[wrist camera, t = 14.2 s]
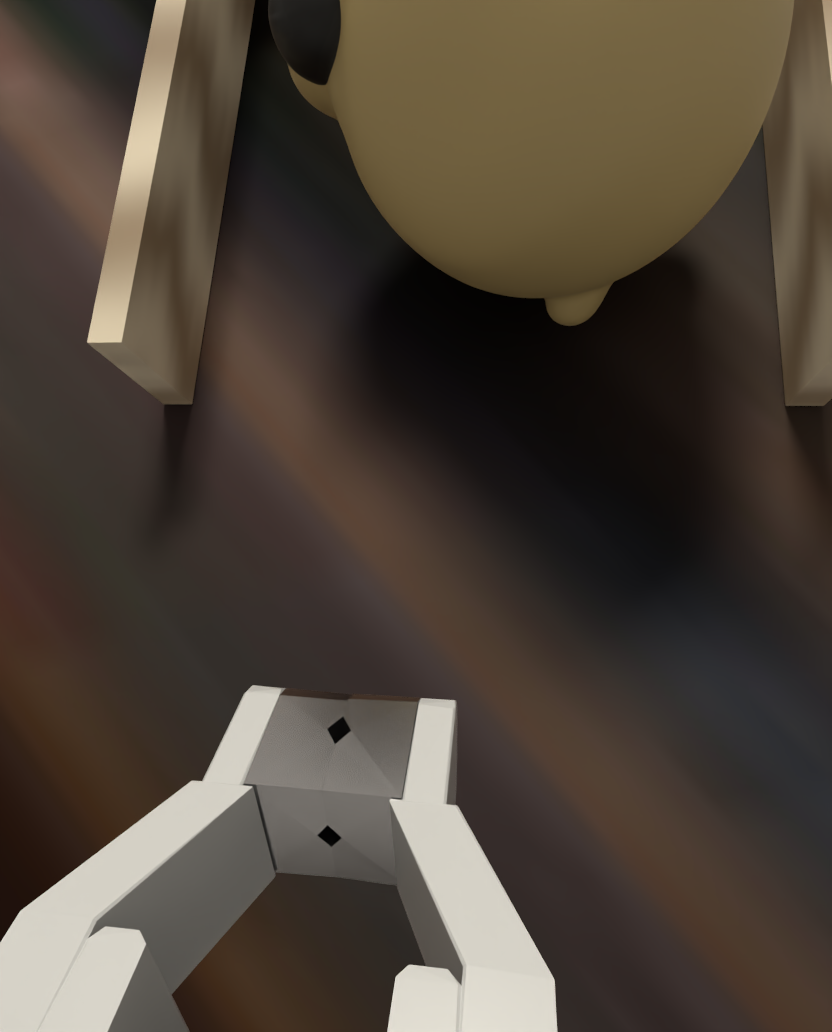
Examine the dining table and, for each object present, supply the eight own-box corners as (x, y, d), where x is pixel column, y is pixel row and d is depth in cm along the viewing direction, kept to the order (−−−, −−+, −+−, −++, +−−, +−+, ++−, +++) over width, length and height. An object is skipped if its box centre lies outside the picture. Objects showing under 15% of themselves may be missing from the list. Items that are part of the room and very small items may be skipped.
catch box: (823, 405, 18) (909, 332, 14) (163, 404, 21) (86, 342, 17) (773, -115, 23) (827, -276, 19) (241, -58, 26) (194, -187, 22)
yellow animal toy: (473, 33, 23) (448, -481, 13) (767, 197, 20) (1044, -308, 10) (287, 225, 22) (100, -166, 12) (565, 429, 19) (637, 138, 9)
